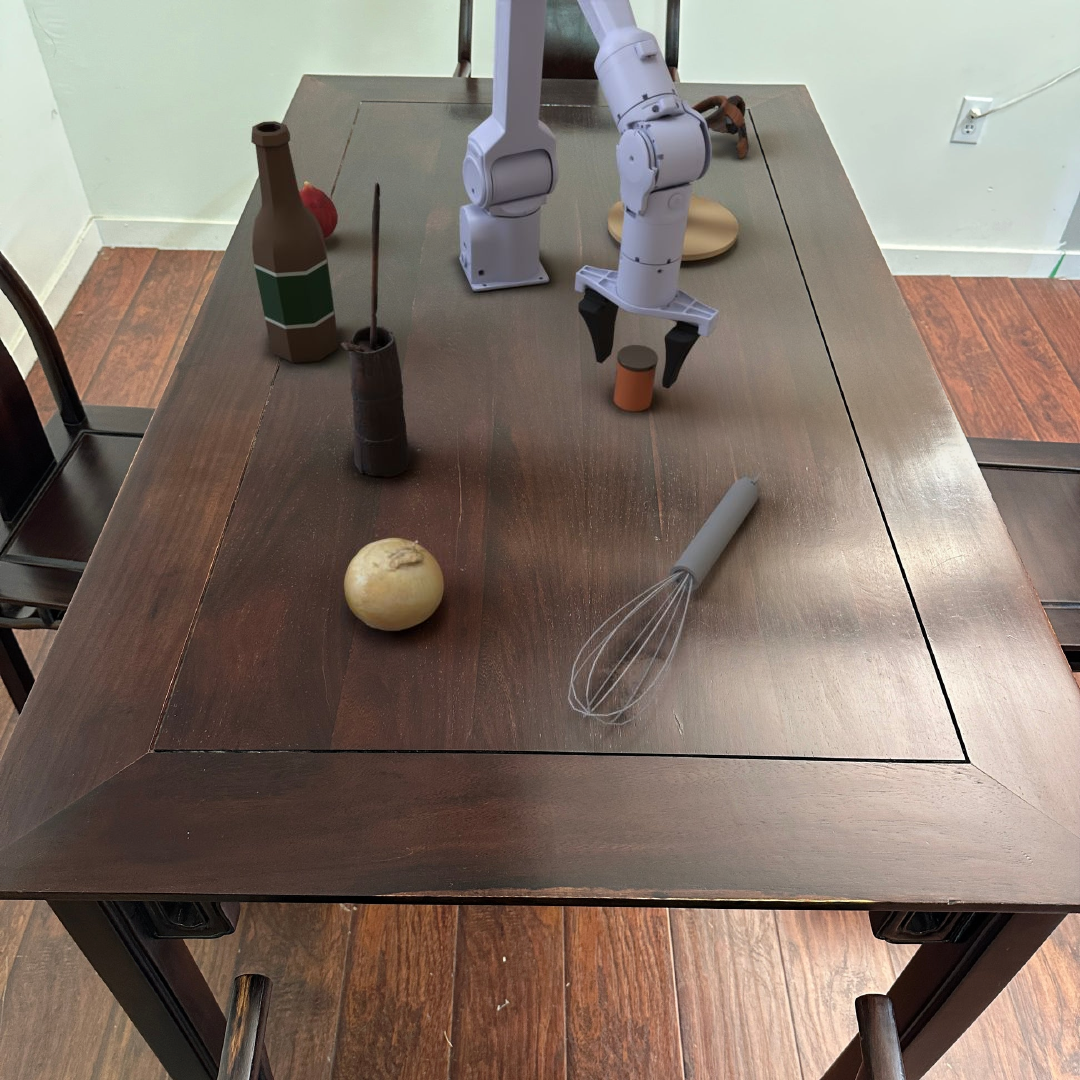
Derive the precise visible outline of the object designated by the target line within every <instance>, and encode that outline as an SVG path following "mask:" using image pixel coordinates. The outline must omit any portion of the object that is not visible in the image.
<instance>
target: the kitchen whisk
mask: <svg viewBox="0 0 1080 1080" xmlns="http://www.w3.org/2000/svg"><path fill="white" fill-rule="evenodd" d="M760 475H761V473H760V472H758V473H757V474H756V475H755V476H754V477H753V478H751V477H748V476H744V477H741V478H739V479H738V480H736V481H735V482H734V483H732V485H731V486H730V488H729V489H728V491H727V492H726V494H724V496H723V497H722V499H721V500H720V501H719V503H718V504H717V506H716V507H715V509H714V510H713V512H711V514H710V515H709V517H708V518H707V520H706V521H705V522H704V524H703V525H702V526H701V528H700V529H699V530H698V532H697V533H696V534H695V536H694V538H692V540H691V541H690V543H689V544H688V546H687V547H686V549H685V550H684V552H683V553H682V554H681V555H680V557H679V558H678V560H676V562H675V563H674V565H673V567H671V569H670V571H669V576H668V577H667V578H665V579H663V580H661V581H660V582H658V583H656V584H655V585H653V586H651V587H649V588H648V589H646V590H645V591H644V592H642V593H641V594H639V595H637V596H636V597H635V598H633V599H632V600H631V601H629V602H628V603H626V604H625V605H624V606H622V607H621V608H620V609H619V610H617V611H616V612H615V613H614V614H613V615H611V616H610V617H609V618H608V619H606V620H605V621H604V623H602V624H601V626H599V627H598V628H597V629H596V630H595V631H594V632H593V633H592V635H591V636H590V637H589V638H588V640H587V641H586V643H585V644H584V645H583V646H582V648H581V649H580V651H579V653H578V655H577V657H576V659H575V661H574V663H573V665H572V671H571V679H570V685H569V689H568V696H567V700H568V702H569V703H570V705H571V708H572V709H573V710H574V711H576V712H578V713H581V714H583V718H584V719H585V718H586V717H591V719H592V721H593V723H594V724H595V726H597V727H603V728H606V727H608V726H623V725H626V724H627V723H629V722H631V721H633V720H636V719H637V718H638V717H639V716H640V715H641V714H642V713H643V712H644V711H645V710H647V708H648V707H649V706H650V704H651V703H652V702H653V700H654V699H655V696H656V695H657V693H658V692H659V691H660V689H661V686H662V685H663V682H664V680H665V677H666V676H667V674H668V671H669V669H670V666H671V664H672V662H673V658H674V655H675V654H676V650H677V646H678V644H679V640H680V637H681V634H682V630H683V627H684V626H683V625H684V622H685V618H686V613H687V610H688V606H689V601H690V597H691V592H693V591H695V590H697V589H698V588H699V586H700V585H701V584H702V582H703V580H704V579H705V578H706V576H707V575H708V573H709V571H710V570H711V569H712V567H713V566H714V564H715V563H716V561H717V560H718V559H719V557H720V555H721V554H722V552H723V551H724V550H725V548H726V547H727V545H728V543H729V542H730V541H731V540H732V538H733V536H734V535H735V534H736V533H737V530H738V529H739V527H740V526H741V525H742V523H743V522H744V520H745V518H746V517H747V516H748V514H749V513H750V511H751V510H752V509H753V507H754V506H755V504H756V503H757V501H758V499H759V495H760V492H761V488H760V485H759V483H758V482H757V481H758V479H759V476H760ZM672 583H673V585H674V586H675V588H673V590H672V591H671V593H670V594H669V595H668V597H667V598H666V599H665V601H664V602H663V604H661V606H660V607H659V608H658V610H657V611H656V612H655V614H654V615H653V616H652V618H651V619H650V620H649V622H648V623H647V624H646V625H645V627H644V628H643V630H642V631H641V632H640V634H638V636H637V637H636V639H635V640H634V641H633V643H632V644H631V646H630V647H629V648H628V649H627V651H626V652H625V654H624V655H623V656H622V658H621V659H619V660H620V661H618V663H617V665H616V666H615V667H614V668H613V669H612V671H611V672H610V674H609V675H608V677H607V679H605V680H604V682H603V684H602V685H601V686H600V688H599V689H598V691H597V692H596V693H595V695H594V697H593V698H592V700H591V701H589V700H590V699H589V690H590V683H591V677H592V675H593V673H594V669H595V667H596V664H597V661H598V659H599V658H600V656H601V655H602V652H603V651H604V649H605V647H606V645H607V644H608V643H609V641H610V640H611V638H612V637H613V636H614V635H615V633H616V632H617V630H618V629H619V628H620V627H621V626H622V625H623V624H624V623H625V622H627V621H628V620H629V619H630V618H631V617H632V616H633V615H635V613H637V612H638V611H639V610H640V609H641V608H643V607H644V606H645V605H646V604H647V603H648V602H650V601H651V600H652V599H654V597H656V596H657V595H658V594H659V593H661V592H662V591H663V590H664V589H666V588H667V587H668V586H670V585H671V584H672ZM658 586H659V587H658ZM656 587H658V588H656ZM654 588H656V589H655V590H654V591H652V592H651V593H649V592H650V591H651V590H653V589H654ZM676 590H677V591H676ZM680 591H682V592H681V594H680V597H679V599H678V602H677V604H676V607H675V609H674V611H673V613H672V616H671V618H670V620H669V623H668V625H667V628H666V630H665V632H664V634H663V636H662V638H661V641H660V643H659V645H658V646H657V649H656V651H655V653H654V655H653V657H652V659H651V661H650V663H649V665H648V667H647V669H646V671H645V673H644V675H643V677H642V678H641V680H640V682H639V683H638V686H637V687H636V689H635V691H634V692H633V693H632V695H631V697H630V698H629V700H628V701H627V703H626V705H625V706H624V707H623V709H619V710H617V711H613V712H610V713H607V714H605V713H604V714H603V713H602V714H601V713H592V712H594V710H596V709H597V707H599V705H600V704H601V703H603V701H604V700H605V699H606V698H607V696H608V695H609V694H610V693H611V692H612V691H613V689H614V688H615V687H616V685H617V684H618V683H619V682H620V681H621V678H623V676H624V675H625V674H626V672H627V671H628V670H629V668H630V667H631V666H632V664H633V663H634V662H635V660H636V659H637V658H638V656H639V655H640V653H641V651H642V650H643V649H644V648H645V646H646V644H647V643H648V641H649V640H650V638H651V637H652V636H653V634H654V632H655V631H656V630H657V628H658V627H659V625H660V623H661V622H662V621H663V619H664V617H665V615H666V614H667V613H668V610H669V609H670V607H671V606H672V604H673V602H674V601H675V599H676V598H677V596H678V594H679V593H680ZM675 592H676V593H675ZM685 592H687V596H686V597H687V598H686V602H685V607H684V608H685V609H684V612H683V615H682V619H681V621H680V625H679V629H678V632H677V635H676V637H675V640H674V642H673V645H672V647H671V650H670V652H669V654H668V655H667V658H666V660H665V662H664V664H663V665H662V667H661V669H660V671H659V672H658V674H657V676H656V677H655V679H654V680H653V681H652V683H651V685H649V687H648V688H647V689H645V691H644V692H643V693H642V694H641V695H640V697H638V699H635V700H634V701H633V702H632V700H633V698H634V697H635V696H636V694H637V693H638V690H639V689H640V687H641V685H642V683H643V682H644V681H645V678H646V676H647V675H648V673H649V671H650V669H651V667H652V664H653V663H654V662H655V659H656V657H657V655H658V653H659V651H660V649H661V646H662V644H663V642H664V640H665V638H666V635H667V634H668V632H669V629H670V627H671V624H672V622H673V619H674V618H675V615H676V613H677V610H678V608H679V606H680V603H681V601H682V598H683V596H684V594H685ZM647 593H649V595H648V596H646V597H645V598H644V599H643V600H642V601H640V603H638V604H637V605H636V606H635V607H634V608H633V609H632V610H631V611H630V612H629V613H628V614H627V615H626V616H625V618H624V619H623V620H622V621H621V622H620V623H619V624H618V625H617V626H616V627H615V628H614V629H613V630H612V631H611V632H610V633H609V634H608V635H606V637H605V638H604V639H603V640H602V641H601V642H600V643H599V644H598V646H597V647H595V649H594V650H593V651H591V653H590V654H589V655H588V656H587V658H586V659H585V660H584V662H583V663H582V665H581V666H580V667H579V669H578V670H577V671H576V673H575V669H576V665H577V664H578V661H579V659H580V657H581V655H582V653H583V651H584V649H585V648H586V647H587V646H588V644H589V643H590V642H591V640H592V639H593V637H595V635H596V634H597V633H599V631H600V630H601V629H602V628H604V626H605V625H606V624H607V623H608V622H610V621H611V620H612V619H613V618H614V617H616V616H617V615H618V614H619V613H621V612H622V610H625V609H626V608H627V607H628V606H630V605H631V604H632V603H634V602H635V601H637V600H638V599H639V598H641V597H642V596H644V595H646V594H647ZM674 593H675V595H674V596H673V594H674ZM672 596H673V598H672V599H671V601H670V603H669V604H668V606H667V608H666V609H665V611H664V612H663V613H662V616H661V617H660V618H659V620H658V621H657V623H656V625H655V626H654V628H653V629H652V631H651V632H650V634H649V635H648V637H647V638H646V640H645V641H644V643H643V644H642V645H641V647H640V648H639V650H638V651H637V653H636V654H635V655H634V657H633V658H632V660H631V661H630V663H629V664H628V665H627V666H626V668H625V669H624V671H623V672H622V673H621V674H620V676H619V677H618V678H617V679H616V681H615V682H614V684H613V685H612V686H611V687H610V688H609V690H608V691H607V692H606V693H605V695H604V696H602V698H601V699H600V700H599V701H598V703H596V704H595V705H594V707H593V708H591V706H592V705H593V703H594V701H595V700H596V698H597V697H598V696H599V694H600V693H601V690H603V688H604V687H605V685H606V684H607V683H608V681H609V680H610V678H611V677H612V676H613V674H614V673H615V672H616V670H617V669H618V667H619V666H620V665H621V663H622V662H623V660H624V659H626V656H628V655H629V653H630V651H631V650H632V648H633V647H634V645H635V644H636V643H637V642H638V641H639V639H640V638H641V636H642V635H643V634H644V632H645V631H646V630H647V628H648V627H649V626H650V625H651V623H652V622H653V621H654V619H655V618H656V617H657V615H658V614H659V613H660V611H661V610H662V609H663V607H664V606H665V605H666V604H667V602H668V601H669V599H670V598H671V597H672ZM601 646H602V647H601ZM600 647H601V649H600V650H599V652H598V654H597V656H596V658H595V660H594V662H593V665H592V667H591V670H590V673H589V675H588V678H587V685H586V693H585V698H586V705H587V707H585V706H584V705H583V703H582V702H581V701H580V700H579V698H578V697H577V696H578V695H577V692H576V690H575V686H574V683H575V681H576V679H577V677H578V675H579V673H580V671H581V670H582V669H583V668H584V666H585V665H586V663H587V662H588V661H589V660H590V659H591V658H592V656H593V655H594V653H595V652H597V650H598V649H599V648H600ZM667 664H668V665H667ZM666 666H667V667H666ZM665 668H666V670H665ZM664 670H665V671H664ZM663 671H664V674H663V676H662V678H661V680H660V682H659V685H658V686H657V689H656V690H655V692H654V694H653V695H652V696H651V698H650V700H649V701H648V703H647V704H646V705H645V706H644V707H643V708H642V709H641V710H640V711H639V712H638V713H637V714H636V715H635V716H634V717H631V718H630V719H628V720H625V721H624V722H615V721H616V720H617V719H618V718H619V717H620V716H621V715H622V714H623V713H624V712H625V711H626V710H628V709H630V708H631V707H632V706H633V705H635V704H636V703H638V702H639V701H641V700H642V698H643V697H644V696H645V695H646V694H647V693H648V692H649V691H650V689H651V688H653V686H654V685H655V684H656V682H657V680H658V679H659V677H660V676H661V675H662V673H663ZM572 692H573V695H574V699H575V700H576V702H577V703H578V704H579V705H580V706H581V707H582V709H583V710H584V711H583V710H581V709H578V708H576V707H575V705H574V703H573V701H572V699H571V693H572ZM631 702H632V703H631ZM616 714H617V715H616ZM613 715H616V716H615V718H614V719H612V720H611V721H609V722H606V721H604V720H602V719H601V718H599V717H610V716H613ZM597 721H599V722H601V724H600V723H597Z"/></svg>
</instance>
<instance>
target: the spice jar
mask: <svg viewBox="0 0 1080 1080" xmlns="http://www.w3.org/2000/svg"><path fill="white" fill-rule="evenodd" d="M616 359H617V361H616V370H615V380H614V388H613V403H615V405H616V406H617V407H618V408H620V409H622V410H625V411H628V412H641V411H644V410H647V409H648V408H649V407H650V406H651V404H652V401H653V392H654V387H655V378H656V372H657V366H658V361H659V356H658V354H657V352H656V351H655V350H654V349H652V348H651V347H648V346H646V345H643V344H642V345H641V344H629V345H626V346H623V347H622V348H621V349H620V350H619V351H618V352H617V356H616Z"/></svg>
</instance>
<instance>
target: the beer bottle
mask: <svg viewBox="0 0 1080 1080" xmlns="http://www.w3.org/2000/svg"><path fill="white" fill-rule="evenodd" d="M290 141H291V132H290V131H289V128H288V125H287V124H285V123H282V122H279V121H275V120H273V121H271V120H270V121H262V122H259V123H257V124H255V125H253V126H252V127H251V143H252V144H253V145H254V146H255V155H256V162H257V169H258V170H257V171H258V178H259V187H260V188H259V189H260V196H261V207H260V208H259V211H258V213H257V215H256V217H255V218H254V223H253V228H252V241H251V247H252V248H251V250H252V257H253V265H254V270H255V275H256V281H257V286H258V291H259V295H260V301H261V305H262V310H263V316H264V320H265V321H264V322H265V326H266V331H267V336H268V341H269V344H270V347H271V352H272V353H273V354H274V355H276V356H278V357H280V358H281V359H284V360H286V361H289V362H290V363H292V364H297V363H309V362H320V361H322V359H324V358H326V357H328V355H330V354H331V353H333V352H335V351H336V350H337V349H338V346H339V345H338V333H337V332H338V331H337V319H336V311H335V303H334V298H333V289H332V282H331V275H330V269H329V261H328V254H327V246H326V245H327V244H326V241H325V240H324V236H323V231H322V228H321V226H320V224H319V222H318V221H317V219H316V217H315V215H314V214H313V213H312V212H311V211H310V210H309V209H308V208H307V207H306V206H305V205H304V204H303V201H302V198H301V195H300V193H299V192H300V190H299V186H298V180H297V176H296V171H295V167H294V162H293V158H292V153H291V149H290V144H289V143H290Z"/></svg>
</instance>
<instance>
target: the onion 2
mask: <svg viewBox="0 0 1080 1080" xmlns="http://www.w3.org/2000/svg"><path fill="white" fill-rule="evenodd" d="M418 543H419V541H418V539H416V540H414V541H411V540H408V539H406V538H401V537H388V538H383V539H380V540H376V541H373V542H370V543H368V544H366V545H365V546H363V547H362V548H361V549H360V550H359V551H358V552H357V553H356V555H354V557H352V559H351V560H350V562H349V564H348V567H347V569H346V572H345V574H344V580H343V581H344V582H343V588H344V596H345V600H346V602H347V605H348V607H349V608H350V610H351V612H352V614H354V615H355V616H356V617H357V618H358V619H359V620H361V622H363V623H365V625H366V626H368V627H370V628H372V629H375V630H376V629H377V630H381V631H386V632H398V631H399V632H400V631H402V630H407V629H410V628H412V627H415V626H417V625H419V624H421V623H423V622H424V621H427V620H428V618H430V617H431V616H432V615H433V614H434V612H435V611H436V610H437V609H438V607H439V605H440V603H441V602H442V599H443V595H444V589H445V585H444V584H445V581H444V575H443V572H442V569H441V566H440V565H439V563H438V561H437V559H436V558H435V557H434V556H433V555H432V554H431V553H430V552H429V551H428V550H427V549H426V548H425V547H423V546H422V545H420V544H418Z"/></svg>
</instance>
